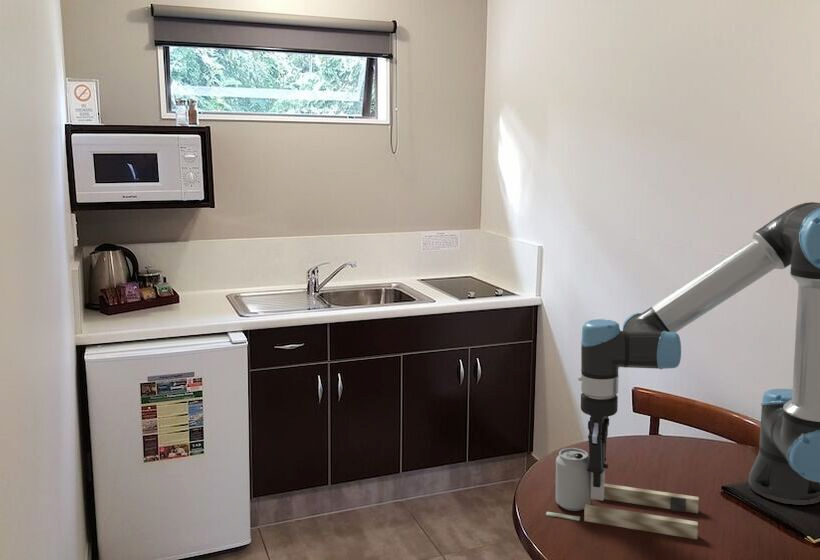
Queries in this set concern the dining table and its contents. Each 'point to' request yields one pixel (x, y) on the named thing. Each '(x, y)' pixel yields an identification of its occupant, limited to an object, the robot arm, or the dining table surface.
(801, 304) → the robot arm
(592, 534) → the dining table surface
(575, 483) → the can
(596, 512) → the chute
